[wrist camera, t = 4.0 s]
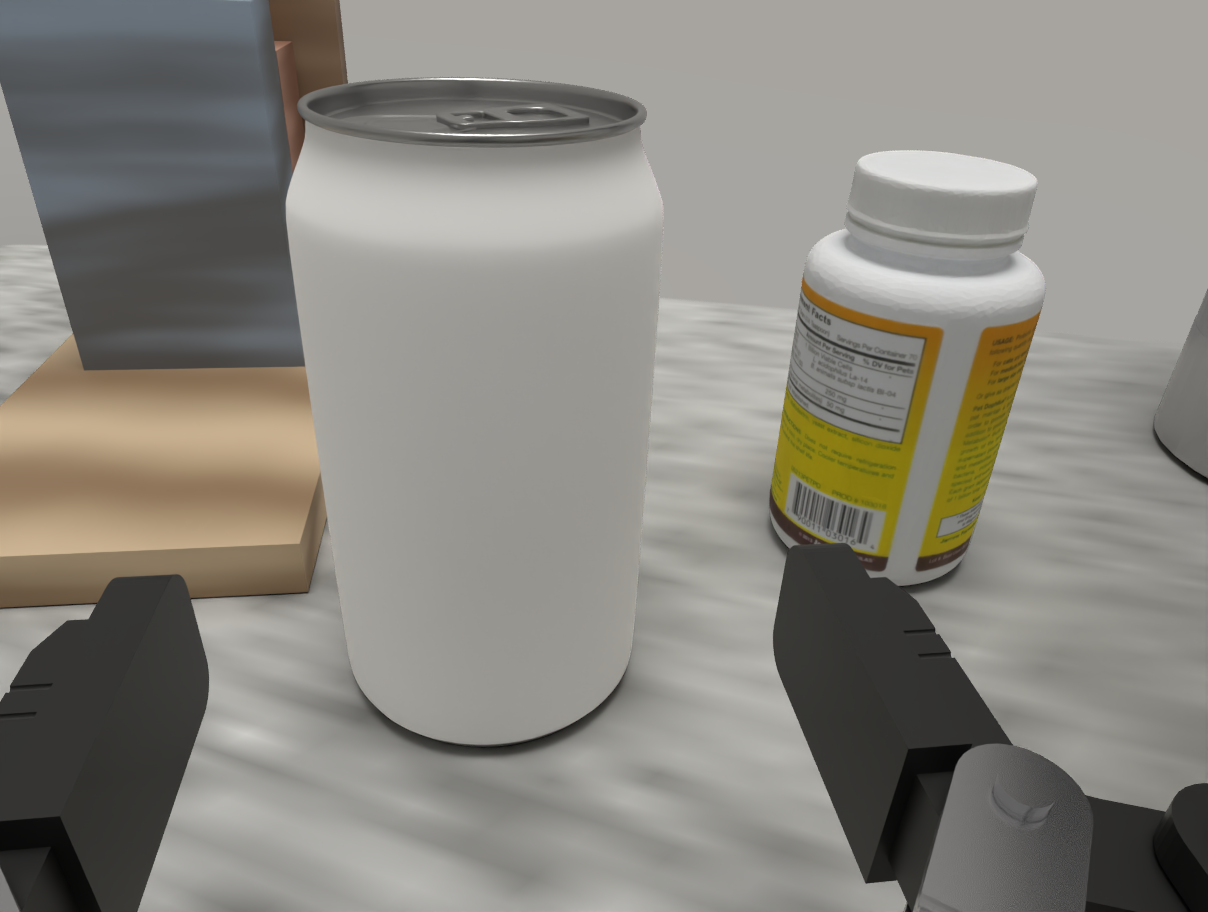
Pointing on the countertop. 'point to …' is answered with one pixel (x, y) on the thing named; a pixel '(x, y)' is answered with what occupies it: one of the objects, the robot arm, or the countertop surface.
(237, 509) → the wooden bookend
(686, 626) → the countertop surface
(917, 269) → the supplement bottle
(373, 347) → the can
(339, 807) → the countertop surface
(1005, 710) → the countertop surface
